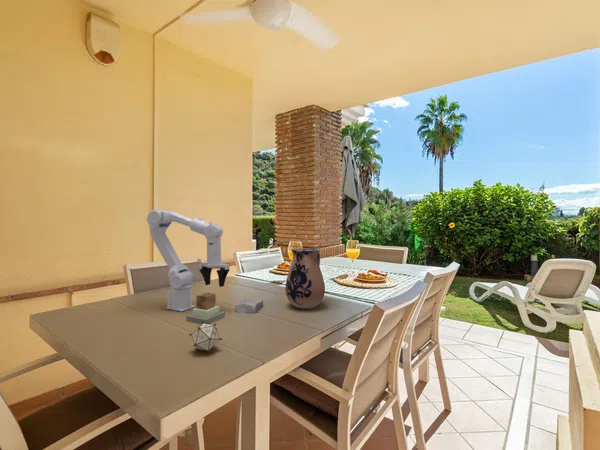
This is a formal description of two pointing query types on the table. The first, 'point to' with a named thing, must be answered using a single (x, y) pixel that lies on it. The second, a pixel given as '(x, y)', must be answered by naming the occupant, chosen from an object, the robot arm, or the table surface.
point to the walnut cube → (205, 301)
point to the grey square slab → (206, 320)
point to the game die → (205, 337)
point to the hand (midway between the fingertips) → (214, 285)
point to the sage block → (206, 312)
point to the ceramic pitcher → (305, 279)
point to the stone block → (249, 305)
